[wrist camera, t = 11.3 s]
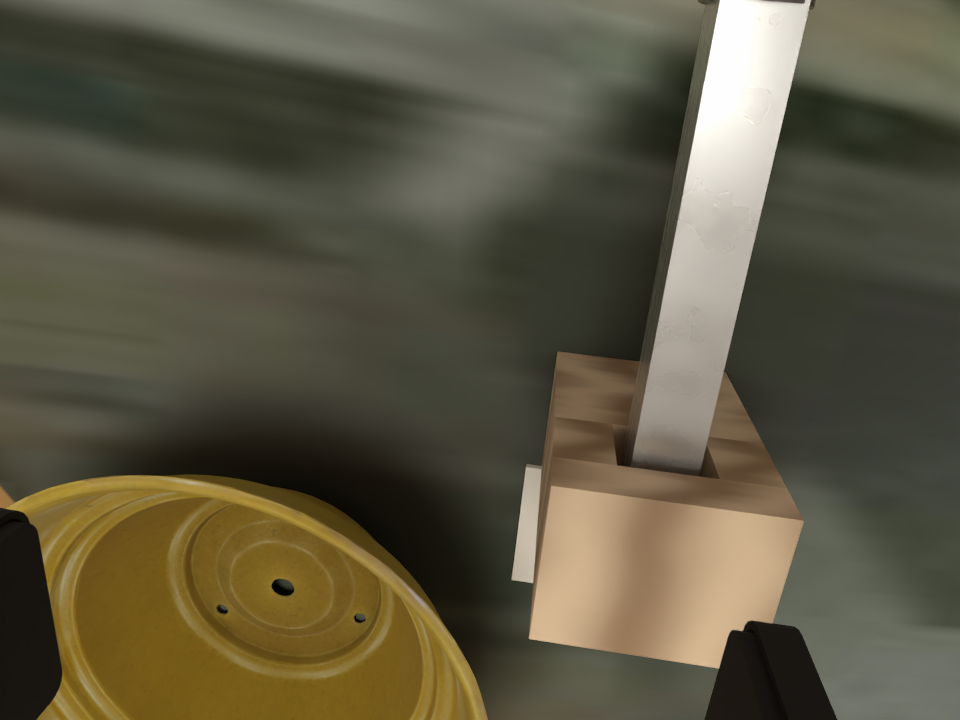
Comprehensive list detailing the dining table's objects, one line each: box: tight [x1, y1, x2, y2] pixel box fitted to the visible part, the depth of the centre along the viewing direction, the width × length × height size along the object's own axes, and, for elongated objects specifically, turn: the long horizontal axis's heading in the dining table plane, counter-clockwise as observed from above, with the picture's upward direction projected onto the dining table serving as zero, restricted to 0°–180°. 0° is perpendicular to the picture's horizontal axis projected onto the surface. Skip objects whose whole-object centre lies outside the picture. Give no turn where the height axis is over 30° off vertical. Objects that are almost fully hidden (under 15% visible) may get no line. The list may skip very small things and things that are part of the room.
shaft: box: [620, 0, 816, 476], centre depth 30 cm, size 4×25×4 cm, turn 175°
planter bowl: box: [5, 474, 488, 720], centre depth 46 cm, size 32×32×13 cm
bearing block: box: [529, 352, 804, 668], centre depth 37 cm, size 10×8×15 cm
